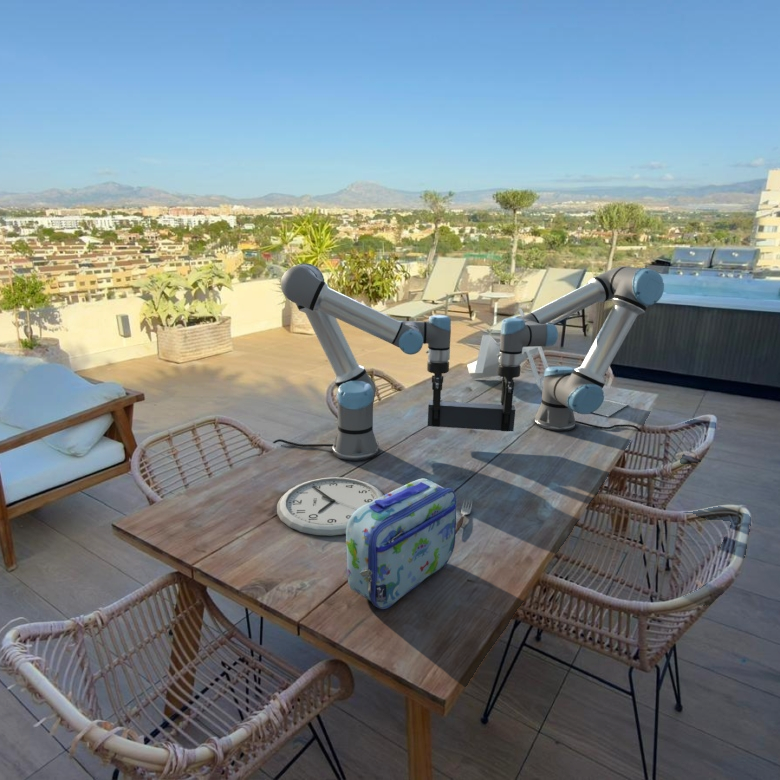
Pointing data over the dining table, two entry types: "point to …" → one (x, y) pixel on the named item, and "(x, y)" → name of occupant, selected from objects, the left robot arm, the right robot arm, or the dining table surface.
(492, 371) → the white plastic object
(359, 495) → the wall clock
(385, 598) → the lunch box
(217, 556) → the dining table surface
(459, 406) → the beam
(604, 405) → the invitation card
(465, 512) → the fork
